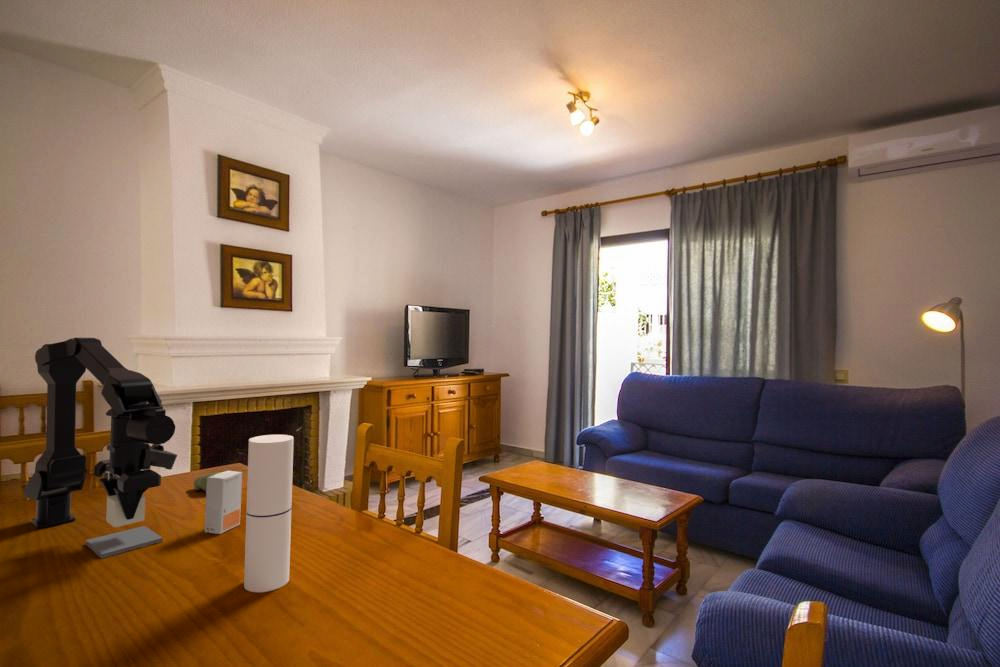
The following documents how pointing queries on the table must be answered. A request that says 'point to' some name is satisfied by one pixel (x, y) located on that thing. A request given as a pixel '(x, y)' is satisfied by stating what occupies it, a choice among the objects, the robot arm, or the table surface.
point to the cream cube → (117, 515)
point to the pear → (202, 482)
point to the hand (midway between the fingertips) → (125, 515)
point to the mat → (123, 541)
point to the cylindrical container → (268, 512)
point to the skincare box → (223, 501)
